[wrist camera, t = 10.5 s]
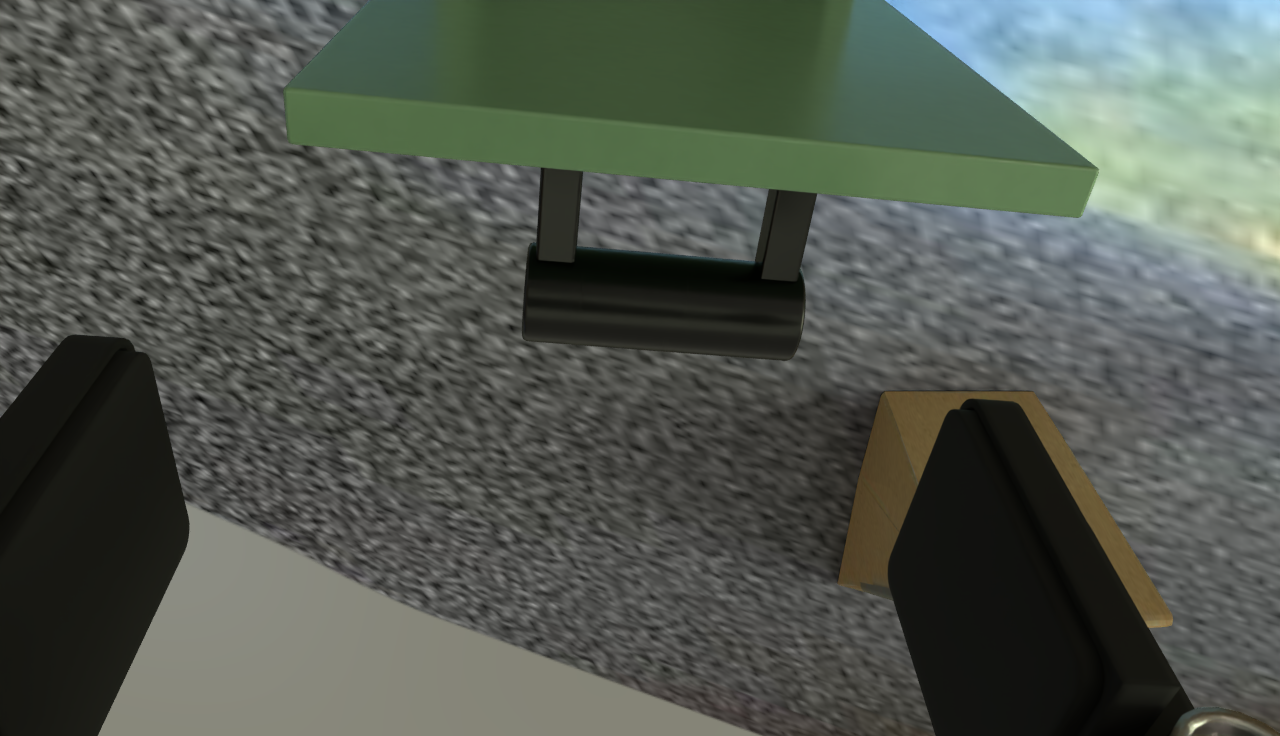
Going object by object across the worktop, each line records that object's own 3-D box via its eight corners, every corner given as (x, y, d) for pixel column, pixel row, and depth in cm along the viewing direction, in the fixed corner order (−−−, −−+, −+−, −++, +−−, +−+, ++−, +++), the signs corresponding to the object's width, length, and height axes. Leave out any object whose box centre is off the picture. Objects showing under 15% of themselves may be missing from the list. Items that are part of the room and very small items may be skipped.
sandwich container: (832, 585, 58) (892, 826, 46) (876, 390, 49) (966, 626, 37) (969, 585, 58) (1064, 822, 46) (1038, 390, 49) (1180, 624, 37)
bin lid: (281, 87, 13) (308, 396, 15) (1101, 169, 14) (994, 443, 16) (434, -69, 25) (435, 118, 27) (862, -19, 26) (823, 156, 28)
